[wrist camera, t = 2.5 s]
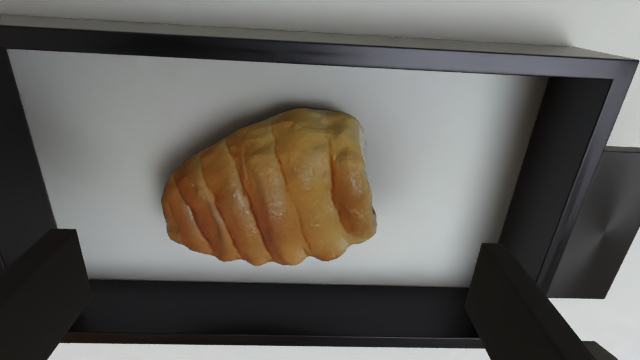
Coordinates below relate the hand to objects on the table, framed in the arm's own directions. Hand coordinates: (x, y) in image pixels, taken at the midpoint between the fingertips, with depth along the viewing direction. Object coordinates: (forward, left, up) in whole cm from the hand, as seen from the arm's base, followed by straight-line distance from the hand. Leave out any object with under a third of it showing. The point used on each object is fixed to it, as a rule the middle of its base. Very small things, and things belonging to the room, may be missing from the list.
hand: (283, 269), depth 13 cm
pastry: (0, 0, -6) cm, 6 cm away
